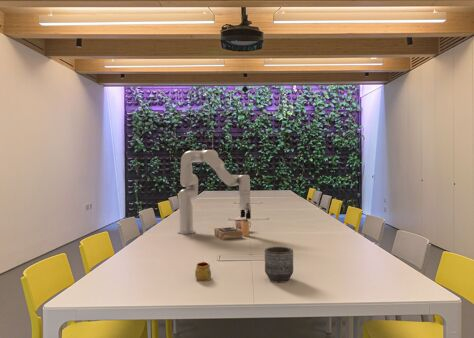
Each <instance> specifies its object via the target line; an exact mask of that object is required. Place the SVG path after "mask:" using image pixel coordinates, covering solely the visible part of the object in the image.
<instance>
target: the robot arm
mask: <svg viewBox="0 0 474 338" xmlns="http://www.w3.org/2000/svg"><path fill="white" fill-rule="evenodd" d="M192 163H207V165H209V167H211V168H212V169H213V170H214V172H215V173H216V175H217V177H218V178H219V179H220V180H221V181H222V182H223V183H224V184H225V185H226V186H228V187H235V186H238V190H239V191H238V194H239V198H238V199H239V203H238V205H239V206H238V208H239V209H240V215H241V217H244V218H246V219H248V220H249V219H250V220H251V218H252V215H251V214H252V213H251V212H252V211H251V210H252V209H251V208H252V207H251V206H252V205H251V197H250V196H251V180H250V179H251V178H250V175H249V174H231V173H230V171H228V170H227V169H226V167H225V162H224V161H223V160H222V159H221V158H220V157H219V153H218V152H217V151H216V150H215V149H206V150H188V151H185V152H184V153H183V154H182V155H181V158H180V174H179V175H180V177H179V178H180V179H179V182H180V183H179V184H180V185H181V186H182V187H185V188H183V189H181V190H180V191H179V192H178V194H177V200H178V206H179V207H178V208H179V209H178V210H179V230H177V234H181V235H182V234H183V235H186V234H187V235H188V234H194V233H196V230H195V229H194V219H193V218H194V217H193V216H194V214H193V213H194V212H193V210H194V209H193V203H192V202H193V201H195V200H197V198H198V196H199V178H198V176H197V175H196V174H195V173H193V171H194V170H193V164H192Z"/></svg>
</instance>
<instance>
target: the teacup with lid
mask: <svg viewBox="0 0 474 338" xmlns="http://www.w3.org/2000/svg"><path fill="white" fill-rule="evenodd" d="M242 219H246V217H241V214H239V216H237V217H235V218H234V227H235V228H237V229H239V230H241V221H242ZM248 221H249V220H248ZM251 227H252V221H249V228H251Z"/></svg>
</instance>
